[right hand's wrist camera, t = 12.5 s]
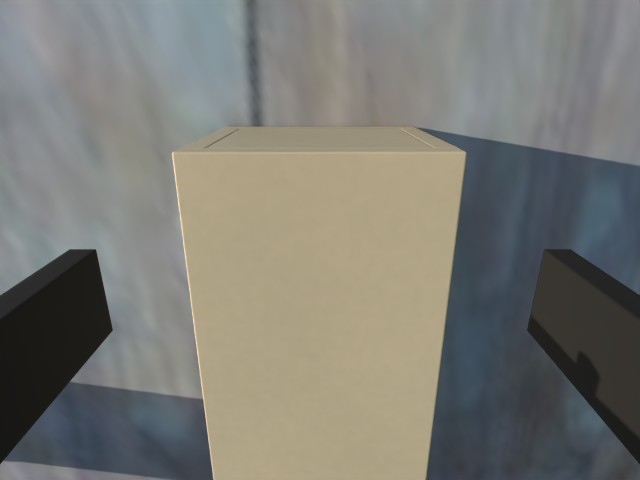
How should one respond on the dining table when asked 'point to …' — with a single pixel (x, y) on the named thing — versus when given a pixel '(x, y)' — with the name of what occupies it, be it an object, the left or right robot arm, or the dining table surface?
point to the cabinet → (319, 295)
